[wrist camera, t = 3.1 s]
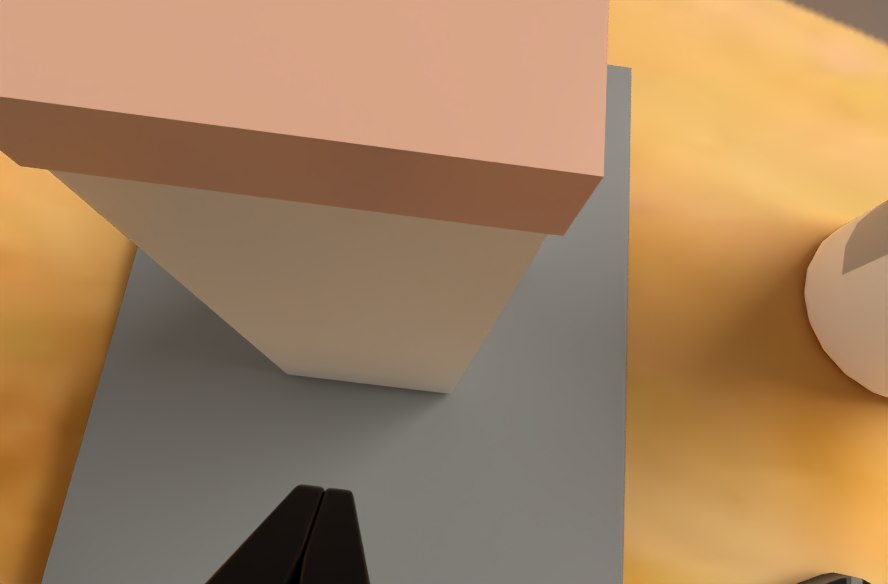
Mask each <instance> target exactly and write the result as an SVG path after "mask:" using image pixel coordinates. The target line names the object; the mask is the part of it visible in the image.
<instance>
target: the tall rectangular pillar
mask: <svg viewBox="0 0 888 584" xmlns="http://www.w3.org/2000/svg"><path fill="white" fill-rule="evenodd" d="M608 22H609V0H0V150H1V151H2V152H3V153H5V154H6V155H7V156H8V157H10V158H11V159H12V160H13V161H15V162H16V163H17V164H18V165H20V166H24V167H32V168H40V169H48V170H49V171H50V172H51V173H52V174H53V175H55V176H56V177H57V178H58V179H59V180H61V181H62V182H63V183H64V184H65V185H66V186H68V187H69V188H70V189H71V190H72V191H73V192H75V193H76V194H77V195H78V196H79V197H80V198H82V199H83V200H84V201H85V202H86V203H87V204H89V205H90V206H91V207H92V208H93V209H94V210H96V211H97V212H98V213H99V214H100V215H101V216H103V217H104V218H105V219H106V220H107V221H108V222H110V223H111V224H112V225H113V226H114V227H116V228H117V229H118V230H119V231H120V232H121V233H123V234H124V235H125V236H126V237H127V238H128V239H130V240H131V241H132V242H133V243H134V244H135V245H137V246H138V247H139V248H140V249H141V250H142V251H144V252H145V253H146V254H147V255H148V256H149V257H151V258H152V259H153V260H154V261H155V262H156V263H158V264H159V265H160V266H161V267H162V268H163V269H165V270H166V271H167V272H168V273H169V274H170V275H172V276H173V277H174V278H175V279H176V280H178V281H179V282H180V283H181V284H182V285H183V286H185V287H186V288H187V289H188V290H189V291H190V292H192V293H193V294H194V295H195V296H196V297H197V298H199V299H200V300H201V301H202V302H203V303H204V304H206V305H207V306H208V307H209V308H210V309H211V310H213V311H214V312H215V313H216V314H217V315H218V316H220V317H221V318H222V319H223V320H224V321H225V322H227V323H228V324H229V325H230V326H231V327H233V328H234V329H235V330H236V331H237V332H238V333H240V334H241V335H242V336H243V337H244V338H245V339H247V340H248V341H249V342H250V343H251V344H252V345H254V346H255V347H256V348H257V349H258V350H259V351H261V352H262V353H263V354H264V355H265V356H266V357H268V358H269V359H270V360H271V361H272V362H273V363H275V364H276V365H277V366H278V367H279V368H280V369H282V370H283V371H284V372H285V373H286V374H288V375H297V376H305V377H314V378H322V379H330V380H339V381H347V382H355V383H364V384H372V385H380V386H389V387H397V388H405V389H414V390H422V391H430V392H439V393H447V394H451V393H452V392H453V390H454V388H455V387H456V385H457V383H458V382H459V380H460V379H461V377H462V375H463V374H464V372H465V370H466V369H467V367H468V365H469V364H470V362H471V360H472V359H473V357H474V356H475V354H476V352H477V351H478V349H479V347H480V346H481V344H482V342H483V341H484V339H485V337H486V336H487V334H488V333H489V331H490V329H491V328H492V326H493V324H494V323H495V321H496V319H497V318H498V316H499V315H500V313H501V311H502V310H503V308H504V306H505V305H506V303H507V301H508V300H509V298H510V296H511V295H512V293H513V292H514V290H515V288H516V287H517V285H518V283H519V282H520V280H521V278H522V277H523V275H524V273H525V272H526V270H527V269H528V267H529V265H530V264H531V262H532V260H533V259H534V257H535V255H536V254H537V252H538V250H539V249H540V247H541V246H542V244H543V242H544V241H545V239H546V237H547V236H548V234H551V235H559V236H564V234H565V233H566V231H567V230H568V229H569V227H570V226H571V224H572V223H573V221H574V220H575V218H576V217H577V215H578V214H579V212H580V211H581V209H582V208H583V206H584V205H585V203H586V202H587V200H588V199H589V197H590V196H591V195H592V193H593V192H594V190H595V189H596V187H597V186H598V184H599V183H600V181H601V180H602V178H603V177H604V150H605V118H606V86H607V54H608Z"/></svg>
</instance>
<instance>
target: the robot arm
mask: <svg viewBox="0 0 888 584" xmlns="http://www.w3.org/2000/svg"><path fill="white" fill-rule="evenodd" d="M205 584H370V579H369V574H368V569H367V564H366V558H365V553H364V548H363V542H362V537H361V532H360V527H359V521H358V516H357V511H356V505H355V500H354V495H353V493H352V491H350V490H345V489H337V488H328V489H326V491H325V490H324V488H323V487H321V486H313V485H305V484H300V485H297V486H296V487H295V488H294V489H293V490H292V491H291V492H290V493H289V494H288V495H287V496H286V497H285V498H284V500H283V501H282V502H281V503H280V504H279V505H278V506H277V507H276V508H275V509H274V510H273V511H272V512H271V513H270V514H269V516H268V517H267V518H266V519H265V520H264V521H263V522H262V523H261V524H260V525H259V526H258V527H257V528H256V529H255V530H254V532H253V533H252V534H251V535H250V536H249V537H248V538H247V539H246V540H245V541H244V542H243V543H242V544H241V545H240V546H239V548H238V549H237V550H236V551H235V552H234V553H233V554H232V555H231V556H230V557H229V558H228V559H227V560H226V561H225V562H224V564H223V565H222V566H221V567H220V568H219V569H218V570H217V571H216V572H215V573H214V574H213V575H212V576H211V577H210V578H209V580H208V581H207V582H206V583H205Z"/></svg>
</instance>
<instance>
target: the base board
mask: <svg viewBox="0 0 888 584" xmlns="http://www.w3.org/2000/svg"><path fill="white" fill-rule="evenodd" d="M630 121H631V68H627V67H620V66H613V65H607V86H606V118H605V150H604V177H603V178H602V180H601V181H600V183H599V184H598V186H597V187H596V189H595V190H594V192H593V193H592V195H591V196H590V197H589V199H588V200H587V202H586V203H585V205H584V206H583V208H582V209H581V211H580V212H579V214H578V215H577V217H576V218H575V220H574V221H573V223H572V224H571V226H570V227H569V229H568V230H567V231H566V233H565V234H564V236H559V235H551V234H548V236H547V237H546V239H545V241H544V242H543V244H542V246H541V247H540V249H539V250H538V252H537V254H536V255H535V257H534V259H533V260H532V262H531V264H530V265H529V267H528V269H527V270H526V272H525V273H524V275H523V277H522V278H521V280H520V282H519V283H518V285H517V287H516V288H515V290H514V292H513V293H512V295H511V296H510V298H509V300H508V301H507V303H506V305H505V306H504V308H503V310H502V311H501V313H500V315H499V316H498V318H497V319H496V321H495V323H494V324H493V326H492V328H491V329H490V331H489V333H488V334H487V336H486V337H485V339H484V341H483V342H482V344H481V346H480V347H479V349H478V351H477V352H476V354H475V356H474V357H473V359H472V360H471V362H470V364H469V365H468V367H467V369H466V370H465V372H464V374H463V375H462V377H461V379H460V380H459V382H458V383H457V385H456V387H455V388H454V390H453V392H452V393H451V394H447V393H439V392H430V391H422V390H414V389H405V388H397V387H389V386H380V385H372V384H364V383H355V382H347V381H339V380H330V379H322V378H314V377H305V376H297V375H288V374H286V373H285V372H284V371H283V370H282V369H280V368H279V367H278V366H277V365H276V364H275V363H273V362H272V361H271V360H270V359H269V358H268V357H266V356H265V355H264V354H263V353H262V352H261V351H259V350H258V349H257V348H256V347H255V346H254V345H252V344H251V343H250V342H249V341H248V340H247V339H245V338H244V337H243V336H242V335H241V334H240V333H238V332H237V331H236V330H235V329H234V328H233V327H231V326H230V325H229V324H228V323H227V322H225V321H224V320H223V319H222V318H221V317H220V316H218V315H217V314H216V313H215V312H214V311H213V310H211V309H210V308H209V307H208V306H207V305H206V304H204V303H203V302H202V301H201V300H200V299H199V298H197V297H196V296H195V295H194V294H193V293H192V292H190V291H189V290H188V289H187V288H186V287H185V286H183V285H182V284H181V283H180V282H179V281H178V280H176V279H175V278H174V277H173V276H172V275H170V274H169V273H168V272H167V271H166V270H165V269H163V268H162V267H161V266H160V265H159V264H158V263H156V262H155V261H154V260H153V259H152V258H151V257H149V256H148V255H147V254H146V253H145V252H144V251H142V250H141V249H140V248H139V247H138V248H137V251H136V255H135V258H134V262H133V265H132V269H131V272H130V276H129V279H128V283H127V286H126V290H125V293H124V296H123V300H122V303H121V307H120V310H119V314H118V317H117V321H116V324H115V328H114V331H113V335H112V338H111V342H110V345H109V349H108V352H107V356H106V359H105V363H104V366H103V370H102V373H101V376H100V380H99V383H98V387H97V390H96V394H95V397H94V401H93V404H92V408H91V411H90V415H89V418H88V422H87V425H86V429H85V432H84V436H83V439H82V443H81V446H80V450H79V453H78V456H77V460H76V463H75V467H74V470H73V474H72V477H71V481H70V484H69V488H68V491H67V495H66V498H65V502H64V505H63V509H62V512H61V516H60V519H59V523H58V526H57V530H56V533H55V537H54V540H53V543H52V547H51V550H50V554H49V557H48V561H47V564H46V568H45V571H44V575H43V578H42V582H41V584H205V583H206V582H207V581H208V580H209V578H210V577H211V576H212V575H213V574H214V573H215V572H216V571H217V570H218V569H219V568H220V567H221V566H222V565H223V564H224V562H225V561H226V560H227V559H228V558H229V557H230V556H231V555H232V554H233V553H234V552H235V551H236V550H237V549H238V548H239V546H240V545H241V544H242V543H243V542H244V541H245V540H246V539H247V538H248V537H249V536H250V535H251V534H252V533H253V532H254V530H255V529H256V528H257V527H258V526H259V525H260V524H261V523H262V522H263V521H264V520H265V519H266V518H267V517H268V516H269V514H270V513H271V512H272V511H273V510H274V509H275V508H276V507H277V506H278V505H279V504H280V503H281V502H282V501H283V500H284V498H285V497H286V496H287V495H288V494H289V493H290V492H291V491H292V490H293V489H294V488H295V487H296V486H297V485H300V484H305V485H313V486H321V487H323V488H324V490H325V491H326V489H328V488H337V489H345V490H350V491H352V493H353V495H354V500H355V505H356V511H357V516H358V521H359V527H360V532H361V537H362V542H363V548H364V553H365V558H366V564H367V569H368V574H369V579H370V584H623V547H624V486H625V425H626V364H627V303H628V242H629V182H630Z"/></svg>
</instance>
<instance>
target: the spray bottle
mask: <svg viewBox="0 0 888 584" xmlns="http://www.w3.org/2000/svg"><path fill="white" fill-rule="evenodd" d="M804 297H805V302H806V308H807V313H808V318H809V323H810V325H811V327H812V329H813V331H814V333H815V334H816V336H817V338H818V340H819V342H820V344H821V346H822V348H823V350H824V351H825V352H826V353H827V355H828V356H829V357H830V358H831V359H832V360H833V361H834V362H835V364H836V365H837V366H838V367H839V368H840V369H841V370H842V371H843V372H844V374H846V375H847V376H849V377H850V378H852V379H853V380H855V381H856V382H858V383H859V384H861V385H862V386H864V387H865V388H867V389H868V390H870V391H871V392H873V393H876V394H879V395H882V396H885V397H888V201H886V202H884V203H882V204H881V205H879V206H877V207H875V208H873V209H872V210H870V211H868V212H866V213H865V214H863V215H861V216H859V217H857V218H856V219H854V220H852V221H850V222H849V223H847V224H845V225H843V226H841V227H840V228H839V229H838V230H836V231H835V232H834V233H833V234H831V235H830V236H829V237H828V238H826V239H825V240H824V241H823V242H822V243H821V244H820V246H819V248H818V250H817V252H816V253H815V255H814V257H813V259H812V261H811V263H810V264H809V266H808V268H807V275H806V283H805V290H804Z"/></svg>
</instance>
